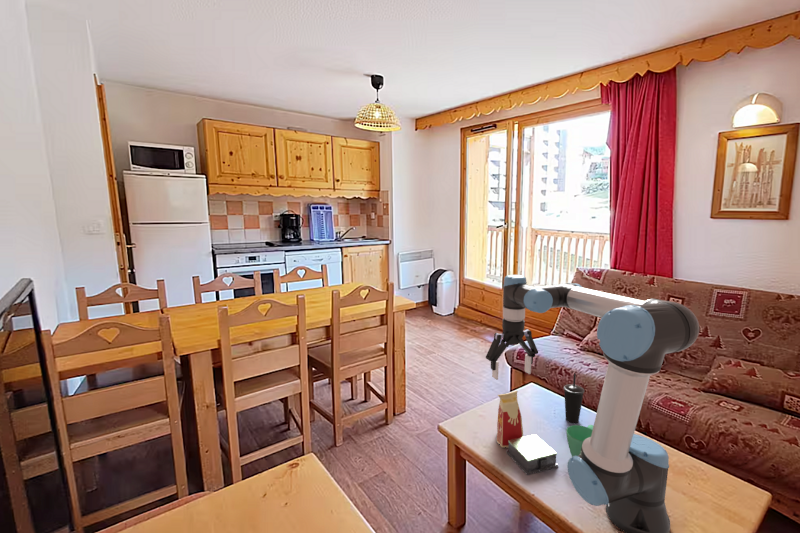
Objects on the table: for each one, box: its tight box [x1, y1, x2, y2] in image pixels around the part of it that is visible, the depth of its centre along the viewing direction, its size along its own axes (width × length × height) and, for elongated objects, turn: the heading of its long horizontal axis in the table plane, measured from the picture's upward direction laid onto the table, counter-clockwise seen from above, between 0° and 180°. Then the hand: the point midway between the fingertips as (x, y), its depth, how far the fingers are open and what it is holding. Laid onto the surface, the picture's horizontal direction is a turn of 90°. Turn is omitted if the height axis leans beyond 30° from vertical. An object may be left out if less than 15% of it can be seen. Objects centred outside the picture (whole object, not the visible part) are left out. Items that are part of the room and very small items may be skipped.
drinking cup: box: [563, 373, 585, 424], centre depth 154 cm, size 8×8×20 cm
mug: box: [565, 424, 594, 457], centre depth 132 cm, size 15×10×10 cm
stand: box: [506, 434, 559, 476], centre depth 131 cm, size 12×12×5 cm
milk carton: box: [496, 390, 524, 448], centre depth 141 cm, size 9×9×20 cm
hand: (511, 375), depth 138 cm, fingers open, 13 cm apart
